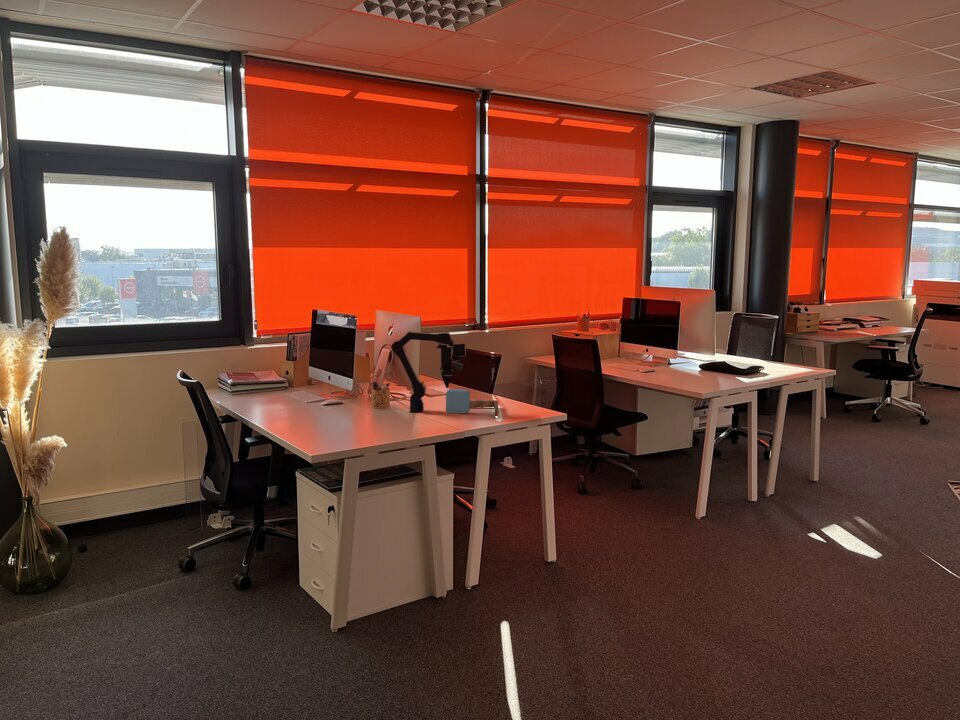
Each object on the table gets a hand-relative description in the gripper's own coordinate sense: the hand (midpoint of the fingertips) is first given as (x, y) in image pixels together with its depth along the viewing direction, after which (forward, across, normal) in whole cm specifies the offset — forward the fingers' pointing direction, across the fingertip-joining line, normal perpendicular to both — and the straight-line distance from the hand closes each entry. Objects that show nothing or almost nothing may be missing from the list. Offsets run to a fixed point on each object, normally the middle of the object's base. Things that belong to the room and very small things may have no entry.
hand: (446, 386), depth 365 cm
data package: (+14, -3, -5) cm, 15 cm away
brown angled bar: (+14, -3, -16) cm, 22 cm away
